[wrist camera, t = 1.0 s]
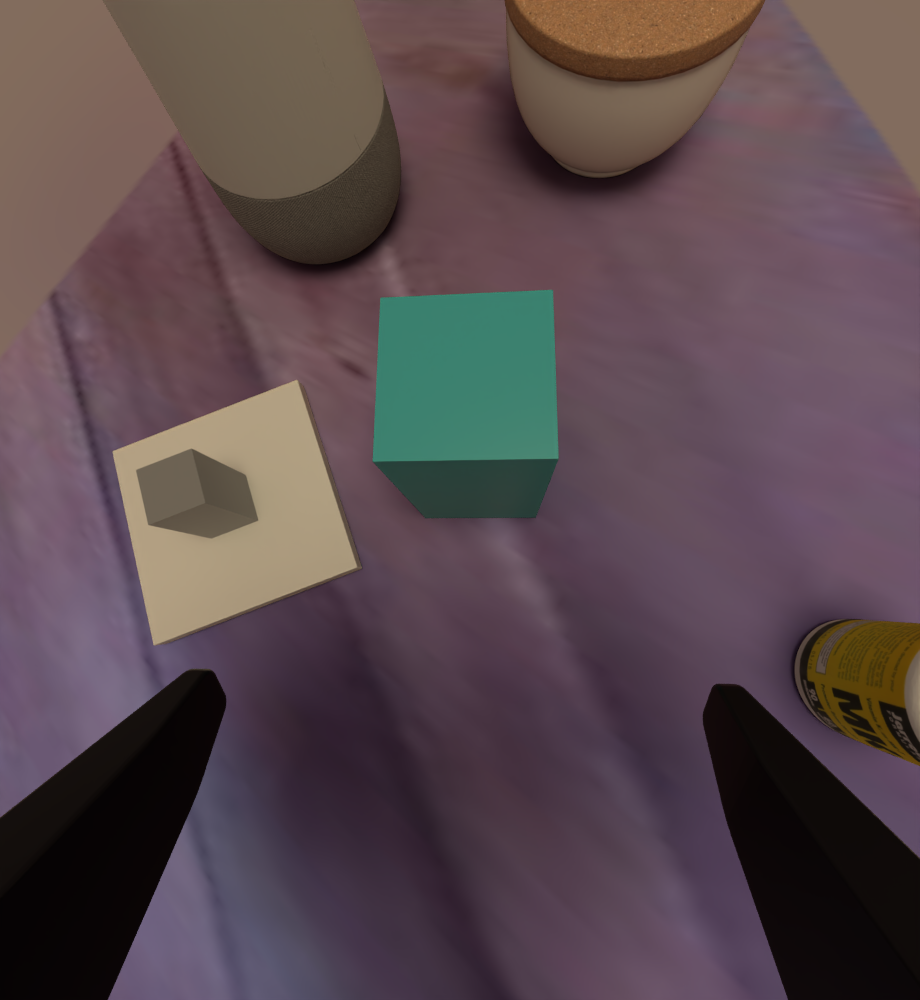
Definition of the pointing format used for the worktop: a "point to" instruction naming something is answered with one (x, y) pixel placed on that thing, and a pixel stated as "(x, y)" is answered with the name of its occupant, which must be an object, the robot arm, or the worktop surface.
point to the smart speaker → (277, 115)
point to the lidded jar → (619, 73)
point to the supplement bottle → (865, 682)
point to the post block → (233, 513)
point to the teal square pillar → (468, 402)
